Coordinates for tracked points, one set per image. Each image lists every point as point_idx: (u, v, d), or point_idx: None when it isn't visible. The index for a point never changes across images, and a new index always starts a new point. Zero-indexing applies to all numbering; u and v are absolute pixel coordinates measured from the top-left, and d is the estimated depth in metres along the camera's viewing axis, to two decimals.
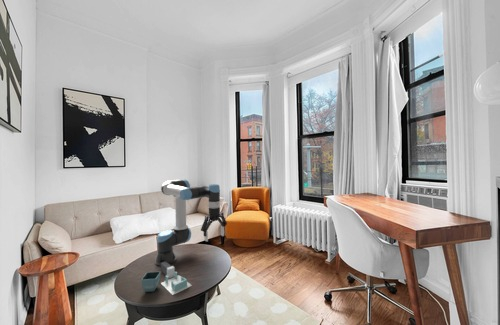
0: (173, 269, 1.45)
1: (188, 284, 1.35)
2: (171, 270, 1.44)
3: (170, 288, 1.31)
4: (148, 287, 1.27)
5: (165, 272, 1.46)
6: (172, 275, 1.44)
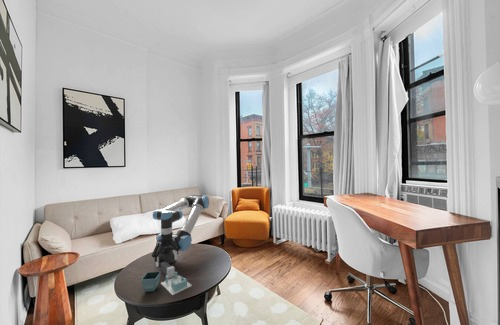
0: (173, 269, 1.45)
1: (188, 284, 1.35)
2: (171, 270, 1.44)
3: (170, 288, 1.31)
4: (148, 287, 1.27)
5: (165, 272, 1.46)
6: (172, 275, 1.44)
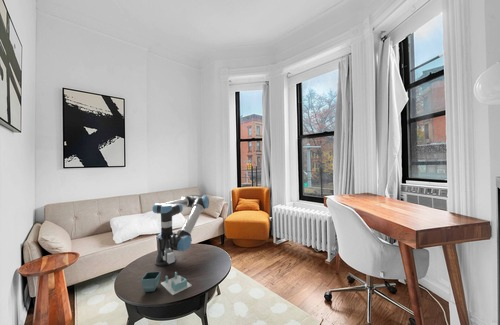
0: (173, 254, 1.45)
1: (188, 284, 1.35)
2: (172, 255, 1.44)
3: (170, 288, 1.31)
4: (148, 287, 1.27)
5: (166, 258, 1.47)
6: (172, 260, 1.45)
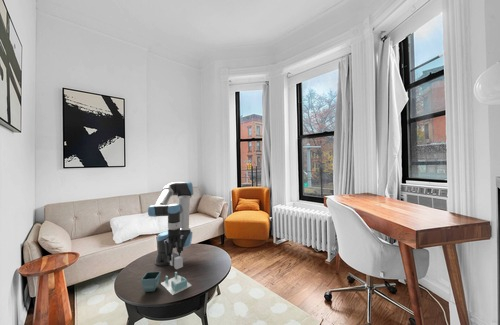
0: (181, 259, 1.32)
1: (188, 284, 1.35)
2: (180, 260, 1.31)
3: (170, 288, 1.31)
4: (148, 287, 1.27)
5: (173, 263, 1.34)
6: (180, 266, 1.31)
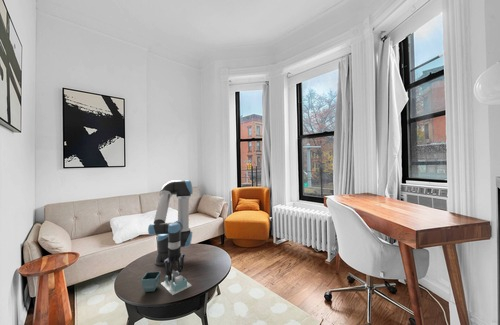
0: (181, 279, 1.32)
1: (188, 284, 1.35)
2: (180, 280, 1.31)
3: (170, 288, 1.31)
4: (148, 287, 1.27)
5: None
6: None
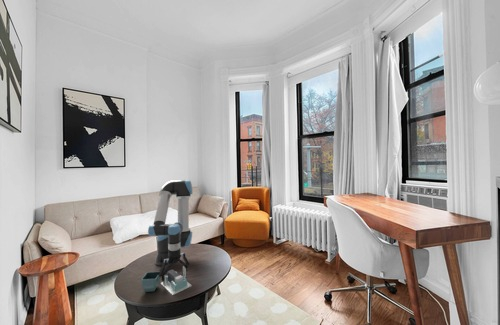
0: (181, 279, 1.32)
1: (188, 284, 1.35)
2: (180, 280, 1.31)
3: (170, 288, 1.31)
4: (148, 287, 1.27)
5: None
6: None
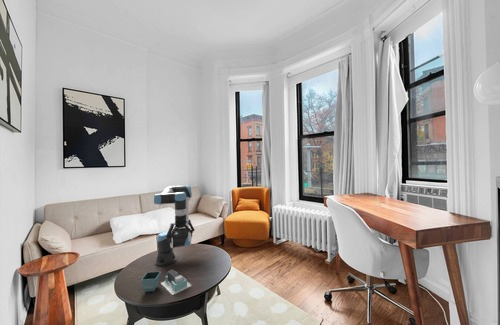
0: (181, 279, 1.32)
1: (188, 284, 1.35)
2: (180, 280, 1.31)
3: (170, 288, 1.31)
4: (148, 287, 1.27)
5: None
6: None
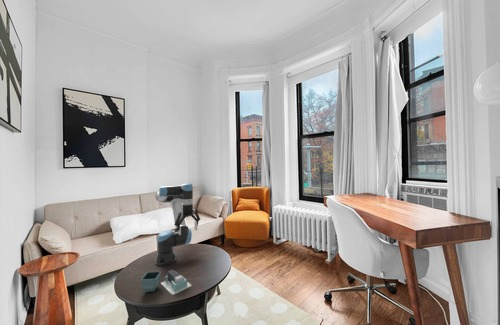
0: (181, 279, 1.32)
1: (188, 284, 1.35)
2: (180, 280, 1.31)
3: (170, 288, 1.31)
4: (148, 287, 1.27)
5: None
6: None
